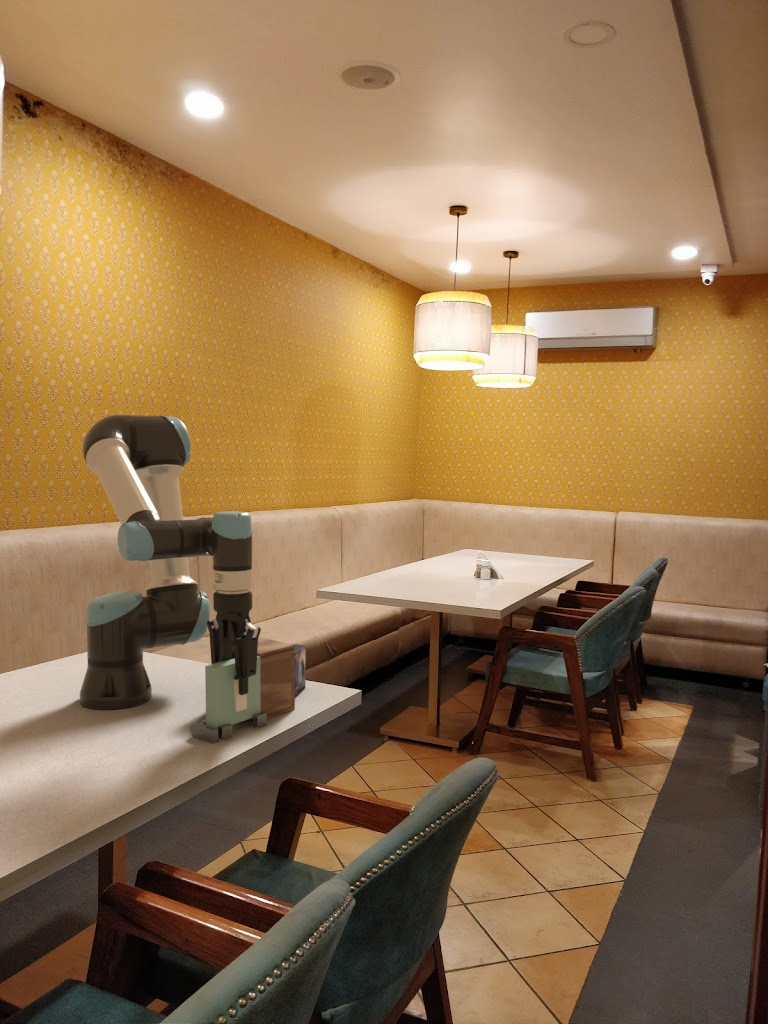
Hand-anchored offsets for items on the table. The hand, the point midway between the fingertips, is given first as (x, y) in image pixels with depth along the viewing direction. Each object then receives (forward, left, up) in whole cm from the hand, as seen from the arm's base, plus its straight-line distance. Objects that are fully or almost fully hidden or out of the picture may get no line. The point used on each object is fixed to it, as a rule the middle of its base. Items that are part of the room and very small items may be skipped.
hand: (234, 707), depth 161 cm
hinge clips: (0, -1, -4) cm, 4 cm away
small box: (-9, +24, -5) cm, 26 cm away
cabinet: (-7, +12, -4) cm, 14 cm away
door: (0, 0, -3) cm, 3 cm away
